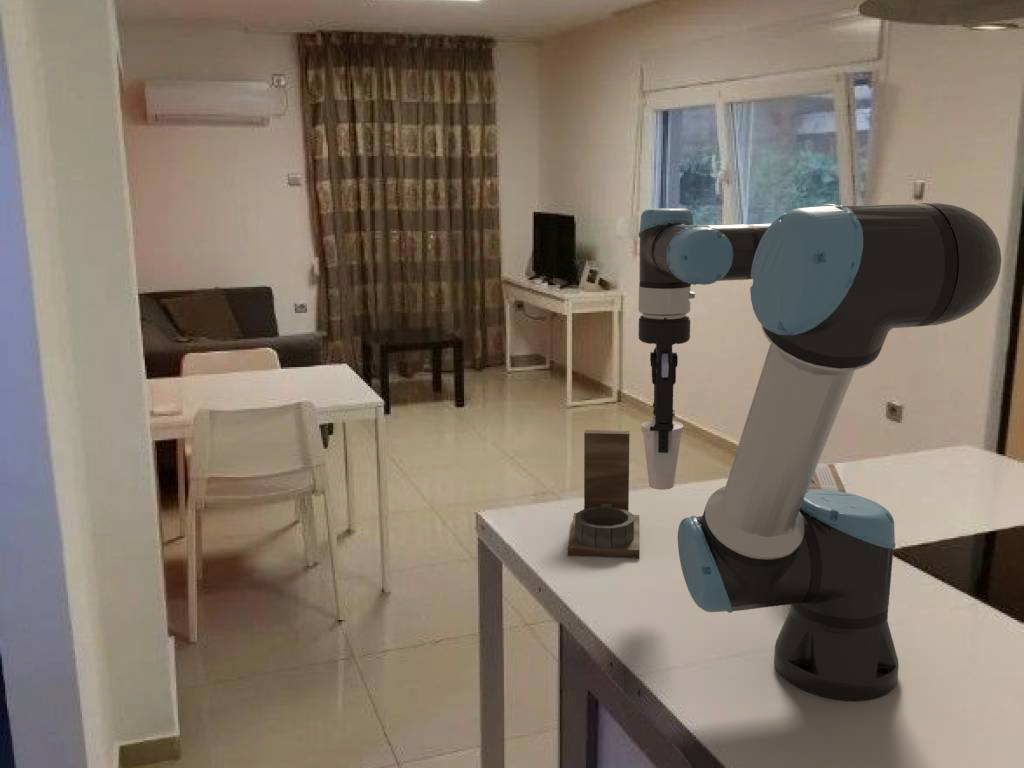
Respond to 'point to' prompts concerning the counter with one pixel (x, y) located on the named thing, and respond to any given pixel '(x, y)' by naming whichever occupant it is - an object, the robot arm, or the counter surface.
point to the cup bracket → (605, 500)
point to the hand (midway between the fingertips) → (661, 464)
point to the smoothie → (655, 479)
